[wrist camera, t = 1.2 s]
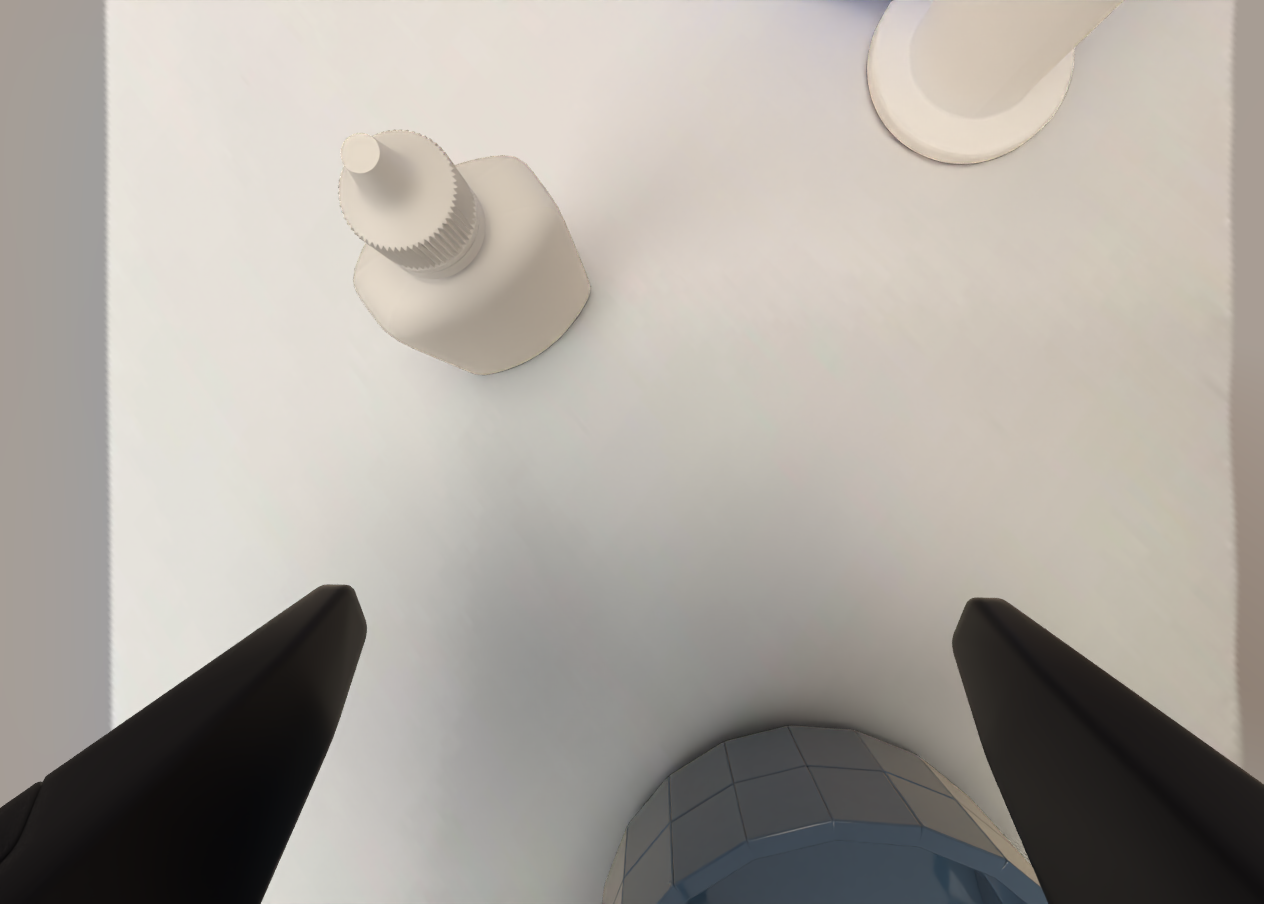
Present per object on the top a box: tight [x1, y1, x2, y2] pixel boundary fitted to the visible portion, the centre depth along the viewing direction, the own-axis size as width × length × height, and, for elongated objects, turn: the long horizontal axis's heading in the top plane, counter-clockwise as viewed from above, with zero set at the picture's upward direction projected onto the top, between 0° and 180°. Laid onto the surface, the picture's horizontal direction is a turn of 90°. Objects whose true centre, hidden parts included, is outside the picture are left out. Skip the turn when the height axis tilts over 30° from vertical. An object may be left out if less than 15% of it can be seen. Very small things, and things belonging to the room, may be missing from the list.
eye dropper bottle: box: [338, 130, 591, 375], centre depth 16 cm, size 4×6×12 cm
